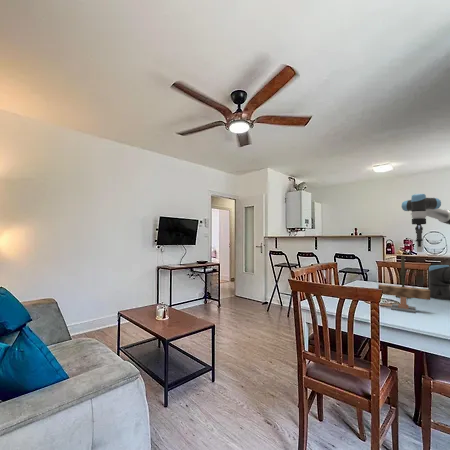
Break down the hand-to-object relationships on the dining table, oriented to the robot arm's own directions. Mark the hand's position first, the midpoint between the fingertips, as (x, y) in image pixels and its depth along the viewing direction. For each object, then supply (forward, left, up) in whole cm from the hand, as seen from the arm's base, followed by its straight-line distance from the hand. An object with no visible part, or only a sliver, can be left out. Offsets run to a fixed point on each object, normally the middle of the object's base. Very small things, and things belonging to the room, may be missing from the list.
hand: (419, 251), depth 171 cm
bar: (+16, +6, -27) cm, 32 cm away
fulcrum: (+16, +6, -35) cm, 39 cm away
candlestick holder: (-6, -22, -35) cm, 42 cm away
